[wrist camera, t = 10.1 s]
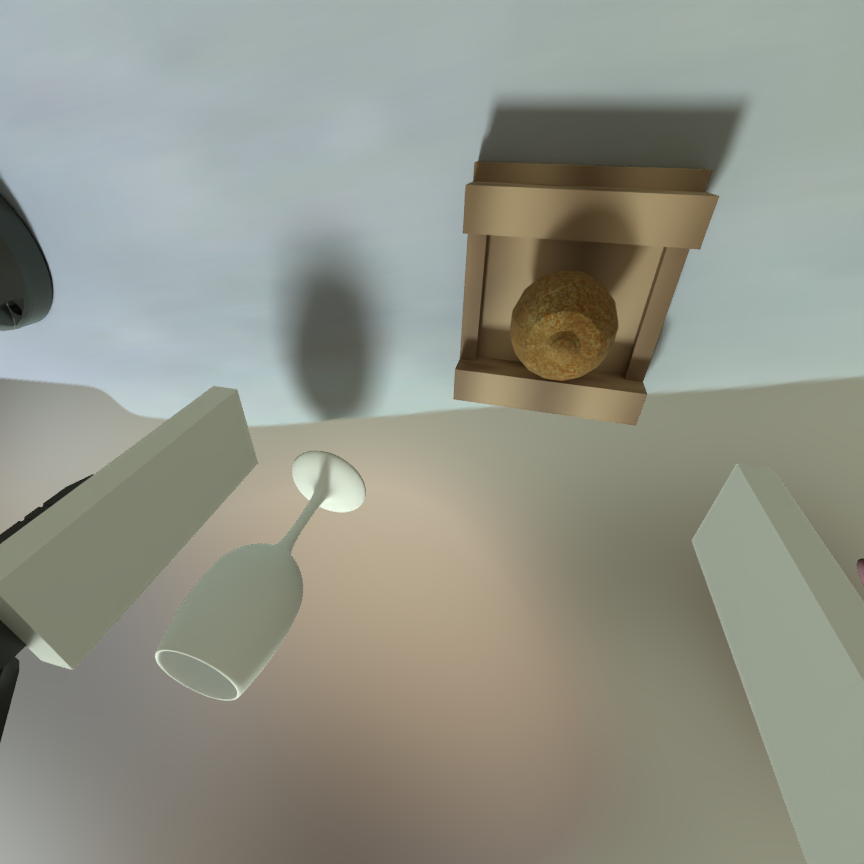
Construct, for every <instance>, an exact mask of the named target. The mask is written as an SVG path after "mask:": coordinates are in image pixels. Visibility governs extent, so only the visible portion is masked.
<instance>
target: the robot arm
mask: <svg viewBox="0 0 864 864" xmlns="http://www.w3.org/2000/svg"><path fill="white" fill-rule="evenodd" d="M51 304H52V286H51V280H50V276H49V273H48V270H47V267H46V264H45V262H44V259H43V257H42V255H41V252H40V250H39V248H38V247H37V245H36V243H35V241H34V239H33V238H32V236H31V234H30V233H29V231H28V230H27V228H26V227H25V225H24V224H23V222H22V221H21V220H20V218H19V217H18V216H17V214H16V213H15V212H14V211H13V209H12V208H11V207H10V206H9V205H8V203H7V202H6V201H5V200H4V199H3V198H2V197H1V196H0V331H7V330H14V329H18V328H21V327H24V326H27V325H30V324H33V323H36V322H38V321H40V320H42V319H43V318H44V317H45V316H46V315H47V314H48V312H49V310H50V307H51ZM257 464H258V462H257V458H256V455H255V451H254V448H253V444H252V441H251V437H250V433H249V430H248V426H247V423H246V419H245V416H244V412H243V408H242V405H241V401H240V398H239V394H238V391H237V389H230V388H224V387H217V386H213V387H212V388H210V389H209V390H208V391H206V392H205V393H203V394H202V395H201V396H199V397H198V398H197V399H195V400H194V401H193V402H191V403H190V404H189V405H187V406H186V407H185V408H183V409H182V410H181V411H179V412H178V413H176V414H175V415H174V416H172V417H171V418H170V419H168V420H167V421H166V422H164V423H163V424H162V425H160V426H159V427H158V428H156V429H155V430H154V431H152V432H151V433H149V434H148V435H147V436H145V437H144V438H143V439H141V440H140V441H139V442H137V443H136V444H135V445H133V446H132V447H131V448H129V449H128V450H127V451H125V452H124V453H123V454H121V455H120V456H118V457H117V458H116V459H114V460H113V461H112V462H111V463H109V464H108V465H106V466H105V467H104V468H102V469H101V470H100V471H99V472H97V473H96V474H94V475H90V476H88V477H86V478H84V479H82V480H80V481H78V482H76V483H74V484H72V485H69V486H67V487H66V488H64V489H63V490H61V491H60V492H59V493H57V494H56V495H55V496H53V497H52V498H50V499H49V500H48V501H46V502H45V503H43V507H38V508H36V509H35V510H34V511H32V512H31V513H30V514H28V515H27V516H25V519H24V520H23V521H18V522H17V523H16V524H14V525H13V526H12V527H10V528H9V529H7V530H6V531H5V532H3V533H2V534H1V535H0V741H1V737H2V734H3V730H4V726H5V723H6V719H7V715H8V711H9V708H10V704H11V700H12V696H13V692H14V689H15V685H16V681H17V677H18V673H19V660H18V659H17V658H15V656H16V655H17V654H18V653H19V652H20V651H21V650H22V649H23V648H24V647H25V646H27V647H28V648H29V649H30V650H31V651H32V652H33V653H34V654H35V655H36V656H37V657H39V659H40V660H41V661H44V662H48V663H51V664H54V665H58V666H61V667H64V668H68V669H72V670H74V669H75V668H76V667H77V665H78V664H79V663H80V662H81V661H82V660H83V659H84V658H85V656H86V655H87V654H88V653H89V652H90V651H91V650H92V649H93V648H94V646H95V645H96V644H97V643H98V642H99V641H100V640H101V638H102V637H103V636H104V635H105V634H106V633H107V632H108V631H109V630H110V628H111V627H112V626H113V625H114V624H115V623H116V622H117V621H118V620H119V618H120V617H121V616H122V615H123V614H124V613H125V612H126V611H127V609H128V608H129V607H130V606H131V605H132V604H133V603H134V601H135V600H136V599H137V598H138V597H139V596H140V595H141V594H142V593H143V592H144V590H145V589H146V588H147V587H148V586H149V585H150V584H151V582H152V581H153V580H154V579H155V578H156V577H157V576H158V574H159V573H160V572H161V571H162V570H163V569H164V568H165V567H166V566H167V565H168V563H169V562H170V561H171V560H172V559H173V558H174V557H175V555H176V554H177V553H178V552H179V551H180V550H181V549H182V548H183V547H184V546H185V544H186V543H187V542H188V541H189V540H190V539H191V537H193V535H194V534H195V533H196V532H197V531H198V530H199V529H200V528H201V527H202V525H203V524H204V523H205V522H206V521H207V520H208V519H209V518H210V516H211V515H212V514H213V513H214V512H215V511H216V510H217V509H218V507H219V506H220V505H221V504H222V503H223V502H224V501H225V499H226V498H227V497H228V496H229V495H230V494H231V493H232V492H233V491H234V490H235V488H236V487H237V486H238V485H239V484H240V483H241V481H242V480H243V479H244V478H245V477H246V476H247V475H248V474H249V473H250V472H251V470H252V469H253V468H254V467H255V466H256V465H257ZM692 543H693V546H694V548H695V552H696V554H697V557H698V560H699V563H700V566H701V568H702V571H703V574H704V577H705V580H706V583H707V585H708V588H709V591H710V594H711V597H712V599H713V602H714V605H715V608H716V610H717V613H718V616H719V619H720V622H721V625H722V627H723V630H724V633H725V636H726V638H727V641H728V644H729V647H730V650H731V652H732V655H733V658H734V661H735V664H736V667H737V669H738V672H739V675H740V678H741V681H742V683H743V686H744V689H745V692H746V695H747V697H748V700H749V703H750V706H751V709H752V711H753V714H754V717H755V720H756V722H757V725H758V728H759V731H760V734H761V737H762V739H763V742H764V745H765V747H766V751H767V753H768V756H769V759H770V762H771V765H772V767H773V770H774V773H775V776H776V779H777V781H778V784H779V787H780V790H781V793H782V796H783V798H784V801H785V804H786V807H787V810H788V812H789V815H790V818H791V821H792V824H793V826H794V829H795V832H796V835H797V838H798V840H799V843H800V846H801V849H802V852H803V854H804V857H805V860H806V863H807V864H864V601H863V600H862V599H861V597H860V596H859V594H858V593H857V591H856V590H855V588H854V587H853V585H852V584H851V582H850V581H849V579H848V578H847V577H846V575H845V574H844V572H843V571H842V569H841V568H840V566H839V565H838V563H837V562H836V560H835V559H834V557H833V556H832V554H831V553H830V551H829V550H828V549H827V547H826V546H825V544H824V543H823V541H822V540H821V538H820V537H819V535H818V534H817V533H816V531H815V529H814V528H813V527H812V525H811V524H810V522H809V521H808V520H807V518H806V516H805V515H804V513H803V512H802V511H801V509H800V508H799V506H798V505H797V503H796V502H795V501H794V499H793V497H792V496H791V494H790V493H789V491H788V490H787V488H786V487H785V485H784V484H783V483H782V481H781V480H780V478H779V477H778V475H777V474H776V472H775V471H774V469H773V468H767V467H760V466H753V465H745V464H739V463H737V464H736V465H735V467H734V469H733V471H732V472H731V474H730V476H729V478H728V479H727V481H726V482H725V484H724V486H723V488H722V489H721V491H720V493H719V494H718V496H717V498H716V500H715V502H714V503H713V505H712V507H711V508H710V510H709V512H708V513H707V515H706V517H705V519H704V520H703V522H702V524H701V525H700V527H699V529H698V531H697V532H696V534H695V536H694V537H693V539H692Z"/></svg>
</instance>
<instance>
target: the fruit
mask: <svg viewBox="0 0 864 864" xmlns="http://www.w3.org/2000/svg"><path fill="white" fill-rule="evenodd" d="M618 327H619V326H618V316H617V310H616V303H615V300H614V299H613V298H612V296H611V295H610V293H609V292H608V291H607V289H606V288H605V286H604V285H603V284H602V282H601V281H599V280H597V279H595V278H594V277H592V276H590V275H588V274H586V273H585V272H581V271H569V270H560V271H557V272H554V273H550V274H547V275H544V276H541V277H540V278H539V279H537V280H536V281H535V282H533V283H532V284H531V285H530V286H528V287H527V288H526V289H525V290H524V292H523V293H522V295H521V297H520V298H519V300H518V302H517V304H516V305H515V307H514V309H513V311H512V318H511V325H510V337H511V341H512V344H513V348H514V351H515V354H516V355H517V357H518V358H519V359H520V361H521V362H522V363H523V364H524V365H525V367H526V368H527V369H528V370H529V371H531V372H533V373H535V374H537V375H539V376H541V377H543V378H545V379H552V380H560V381H564V380H569V379H574V378H578V377H582V376H583V375H585V374H587V373H588V372H590V371H592V370H593V369H595V368H597V367H598V366H599V365H600V364H601V362H602V361H603V360H604V359H605V357H606V356H607V355H608V354H609V352H610V351H611V349H612V347H613V344H614V341H615V338H616V334H617V331H618Z"/></svg>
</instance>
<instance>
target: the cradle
mask: <svg viewBox="0 0 864 864" xmlns="http://www.w3.org/2000/svg"><path fill="white" fill-rule="evenodd" d="M711 173H712V170H709V169H690V168H660V167H631V166H601V165H571V164H542V163H512V162H483V161H477V162H475V164H474V180H473V182H471V183H469V184H467V185H466V189H465V206H464V224H463V233H466V234H468V240H467V256H466V272H465V287H464V303H463V319H462V335H461V350H460V360H459V362H458V364H457V366H456V369H455V381H454V399H456V400H463V401H469V402H476V403H483V404H490V405H497V406H504V407H511V408H518V409H525V410H532V411H539V412H546V413H552V414H560V415H566V416H574V417H580V418H587V419H594V420H601V421H608V422H615V423H622V424H629V425H636V423H637V421H638V418H639V415H640V413H641V410H642V407H643V404H644V402H645V398H646V396H647V392H646V390H645V387H644V384H643V380H644V377H645V374H646V372H647V369H648V366H649V363H650V360H651V357H652V354H653V352H654V349H655V346H656V343H657V340H658V337H659V334H660V332H661V329H662V326H663V323H664V320H665V317H666V314H667V312H668V309H669V306H670V303H671V300H672V297H673V294H674V292H675V289H676V286H677V283H678V280H679V277H680V274H681V272H682V269H683V266H684V263H685V260H686V257H687V254H688V252H689V249H700V248H701V245H702V242H703V239H704V237H705V234H706V231H707V228H708V226H709V223H710V220H711V217H712V215H713V212H714V209H715V206H716V204H717V201H718V198H719V196H717V195H714V194H711V193H708V192H705V190H706V187H707V184H708V181H709V178H710V175H711ZM560 270H569V271H581V272H585V273H586V274H588V275H590V276H592V277H594V278H595V279H597V280H599V281H601V282H602V284H603V285H604V286H605V288H606V289H607V291H608V292H609V293H610V295H611V296H612V298H613V299H614V300H615V303H616V310H617V316H618V326H619V327H618V331H617V334H616V338H615V341H614V344H613V347H612V349H611V351H610V352H609V354H608V355H607V356H606V357H605V359H604V360H603V361H602V362H601V364H600V365H599V366H598V367H597V368H595V369H593V370H592V371H590V372H588V373H587V374H585V375H583V376H582V377H578V378H574V379H569V380H564V381H560V380H552V379H545V378H543V377H541V376H539V375H537V374H535V373H533V372H531V371H529V370H528V369H527V368H526V367H525V365H524V364H523V363H522V362H521V361H520V359H519V358H518V357H517V355H516V354H515V351H514V348H513V344H512V341H511V337H510V325H511V318H512V311H513V309H514V307H515V305H516V304H517V302H518V300H519V298H520V297H521V295H522V293H523V292H524V290H525V289H526V288H527V287H528V286H530V285H531V284H532V283H533V282H535V281H536V280H537V279H539V278H540V277H541V276H544V275H547V274H550V273H554V272H557V271H560Z"/></svg>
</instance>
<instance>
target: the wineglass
mask: <svg viewBox="0 0 864 864" xmlns="http://www.w3.org/2000/svg"><path fill="white" fill-rule="evenodd" d="M292 476H293V480H294V482H295V484H296V486H297V488H298V489H299V490H300V492H301V493H302V494H303V495H304V496H305V497H306V498H307V499H308V500H309V503H308V504H307V506H306V508H305V509H304V511H303V513H302V514H301V516H300V517H299V519H298V520H297V521H296V523H295V524H294V526H293V527H292V528H291V530H290V531H289V532H288V533H287V535H286V536H285V537H284V538H283V539H282V540H281V541H280V542H279V543H278V544H276V545H270V544H251V545H247V546H243V547H240V548H237V549H235V550H233V551H231V552H229V553H227V554H226V555H224V556H223V557H222V558H220V559H219V560H218V561H217V562H216V563H215V564H214V565H213V566H212V567H211V568H210V569H209V570H208V571H207V572H206V573H205V574H204V575H203V577H202V578H201V579H200V580H199V581H198V582H197V584H196V585H195V586H194V587H193V589H192V590H191V592H190V593H189V594H188V596H187V597H186V599H185V600H184V602H183V603H182V605H181V606H180V608H179V609H178V611H177V613H176V614H175V616H174V618H173V620H172V621H171V623H170V625H169V627H168V628H167V630H166V632H165V634H164V636H163V638H162V640H161V642H160V644H159V646H158V648H157V650H156V653H155V659H156V661H157V663H158V665H159V666H160V667H161V668H162V669H163V670H164V671H165V672H166V673H167V674H168V675H169V676H171V677H172V678H173V679H175V680H176V681H178V682H179V683H181V684H182V685H184V686H186V687H188V688H190V689H191V690H194V691H196V692H198V693H200V694H203V695H205V696H208V697H211V698H215V699H219V700H234V699H237V698H238V697H239V696H241V695H242V693H243V692H244V691H245V690H246V689H247V688H248V687H249V685H250V684H251V683H252V682H253V681H254V680H255V678H256V677H257V676H258V675H259V673H260V672H261V671H262V670H263V668H264V667H265V666H266V665H267V663H268V662H269V661H270V659H271V658H272V657H273V655H274V654H275V652H276V651H277V649H278V648H279V646H280V645H281V643H282V642H283V640H284V639H285V637H286V635H287V633H288V632H289V630H290V628H291V626H292V624H293V622H294V620H295V618H296V616H297V613H298V611H299V608H300V606H301V602H302V597H303V581H302V575H301V572H300V569H299V567H298V565H297V563H296V561H295V560H294V558H293V557H292V556H291V551H292V548H293V546H294V544H295V542H296V540H297V538H298V536H299V535H300V533H301V531H302V530H303V528H304V527H305V525H306V524H307V522H308V521H309V519H310V518H311V517H312V515H313V514H314V513H315V511H316V510H317V509H318V507H321V508H323V509H326V510H330V511H334V512H348V511H352V510H355V509H357V508H358V507H360V505H361V504H362V503H363V502H364V499H365V496H366V489H365V485H364V482H363V480H362V478H361V476H360V474H359V473H358V472H357V471H356V469H355V468H354V467H353V466H351V465H350V464H349V463H348V462H346V461H345V460H343V459H342V458H340V457H338V456H336V455H334V454H331V453H328V452H322V451H309V452H306V453H303V454H301V455H300V456H299V457H297V458H296V459H295V461H294V463H293V466H292Z"/></svg>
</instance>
